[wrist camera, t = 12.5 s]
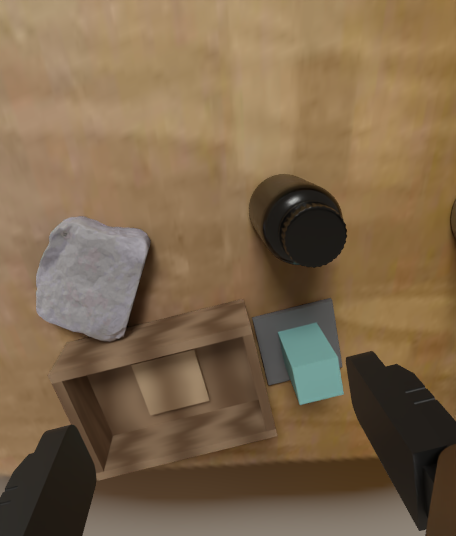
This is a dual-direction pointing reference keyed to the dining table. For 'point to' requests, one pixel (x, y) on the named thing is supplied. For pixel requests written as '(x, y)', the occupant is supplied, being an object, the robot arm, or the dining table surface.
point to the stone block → (91, 277)
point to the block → (310, 363)
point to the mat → (289, 319)
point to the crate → (166, 390)
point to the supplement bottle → (297, 220)
